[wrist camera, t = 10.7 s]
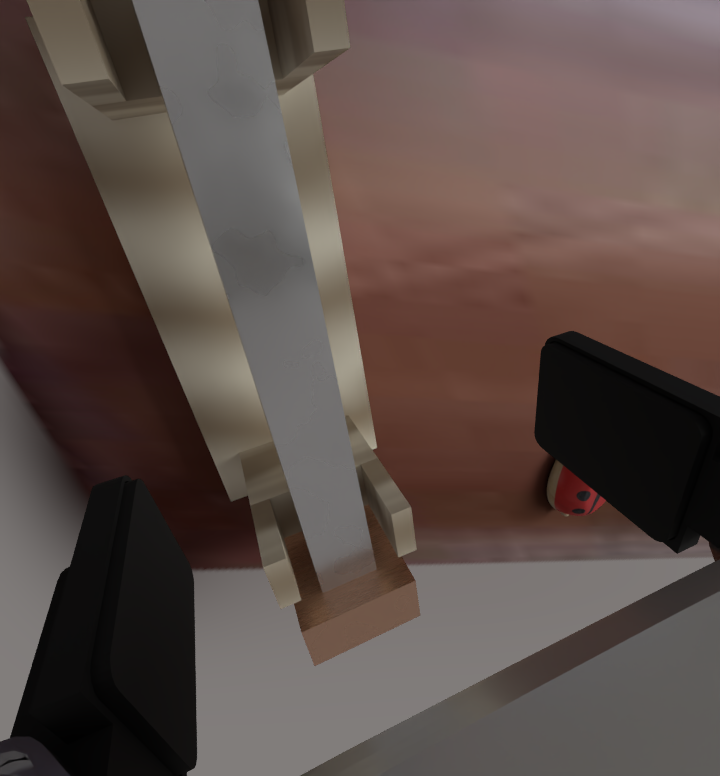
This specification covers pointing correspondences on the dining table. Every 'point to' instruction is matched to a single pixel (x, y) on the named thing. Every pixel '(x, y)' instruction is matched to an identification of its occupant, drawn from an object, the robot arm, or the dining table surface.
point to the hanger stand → (193, 252)
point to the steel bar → (276, 308)
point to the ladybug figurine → (571, 493)
